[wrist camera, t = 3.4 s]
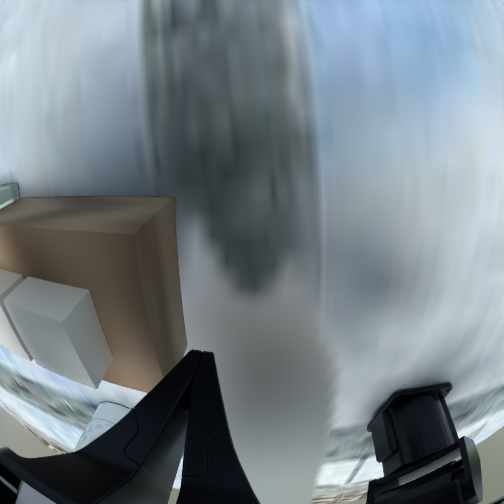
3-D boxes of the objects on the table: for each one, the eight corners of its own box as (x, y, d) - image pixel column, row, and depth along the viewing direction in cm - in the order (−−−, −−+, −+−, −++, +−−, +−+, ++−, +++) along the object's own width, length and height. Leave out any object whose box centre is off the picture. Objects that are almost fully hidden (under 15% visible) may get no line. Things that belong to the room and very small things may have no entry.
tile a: (89, 290, 9) (62, 322, 7) (113, 358, 11) (96, 389, 9) (28, 276, 9) (3, 300, 8) (54, 339, 11) (36, 364, 9)
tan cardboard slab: (174, 197, 11) (133, 234, 8) (187, 344, 16) (169, 397, 12) (19, 198, 12) (-25, 223, 8) (53, 314, 16) (25, 348, 12)
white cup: (84, 388, 21) (48, 465, 12) (154, 411, 21) (125, 502, 12) (107, 423, 25) (82, 487, 16) (167, 441, 24) (148, 513, 15)
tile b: (22, 274, 9) (-3, 298, 8) (49, 336, 11) (31, 361, 9) (-13, 265, 9) (-35, 283, 8) (10, 320, 11) (-7, 340, 10)
